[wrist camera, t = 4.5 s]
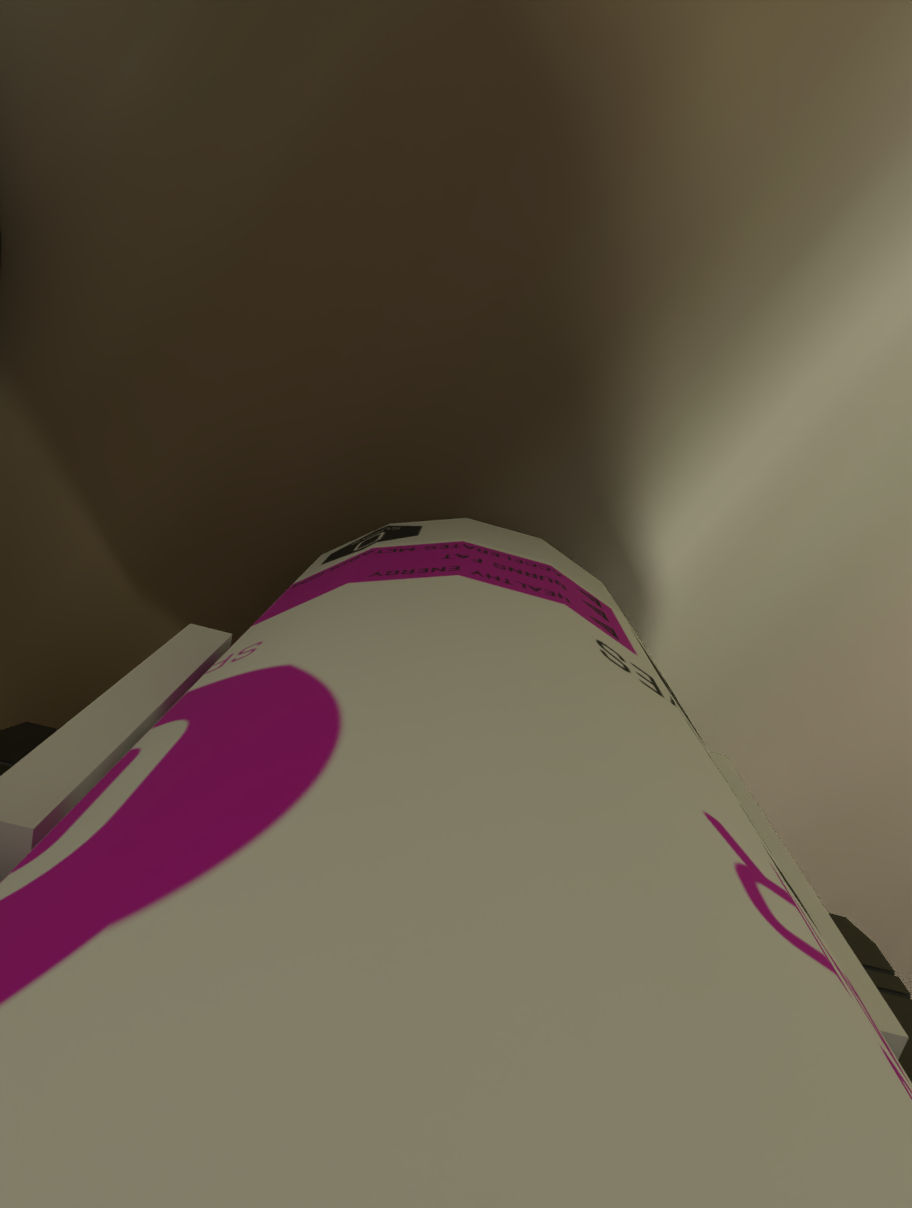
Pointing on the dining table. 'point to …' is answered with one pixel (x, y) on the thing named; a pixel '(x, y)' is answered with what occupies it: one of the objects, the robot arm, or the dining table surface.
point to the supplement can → (431, 929)
